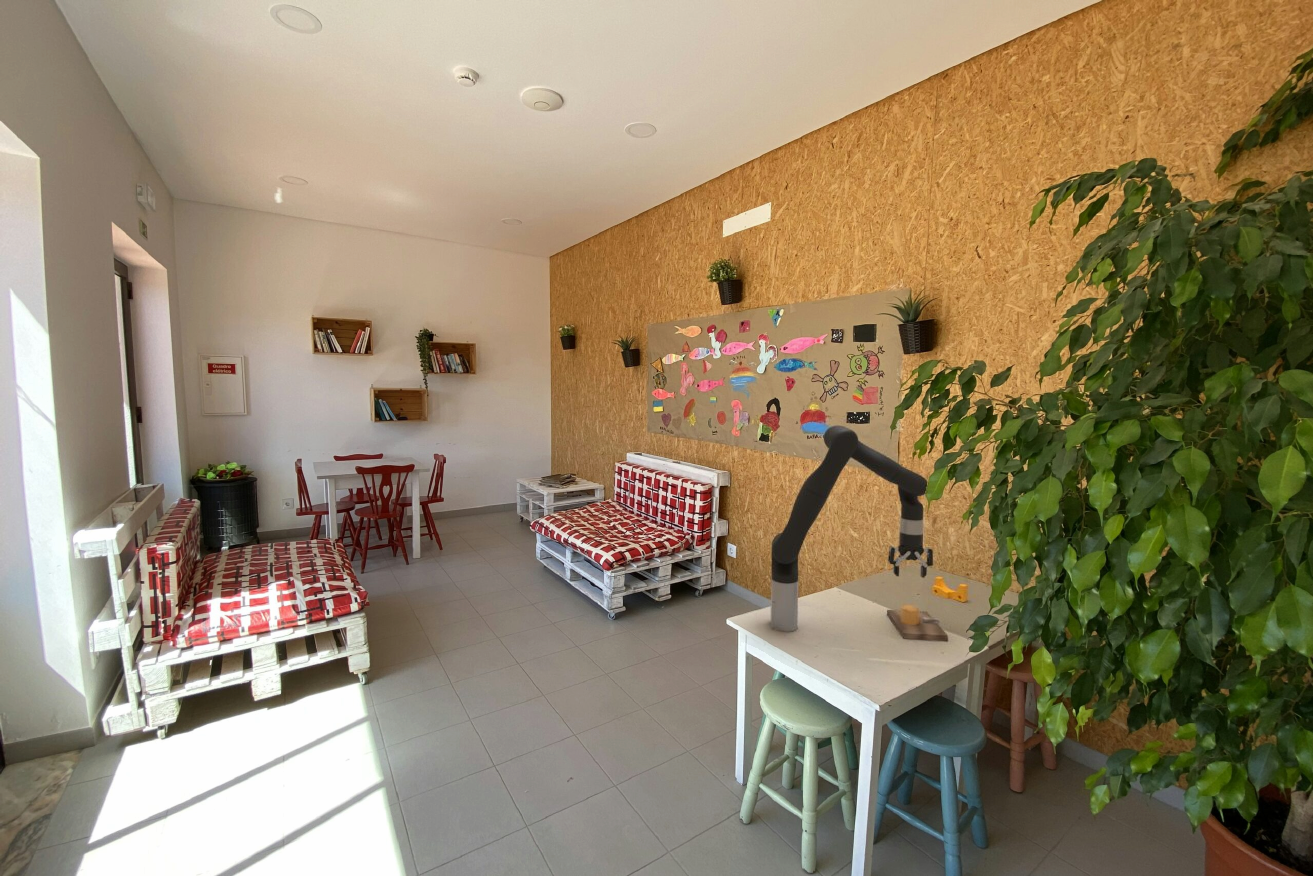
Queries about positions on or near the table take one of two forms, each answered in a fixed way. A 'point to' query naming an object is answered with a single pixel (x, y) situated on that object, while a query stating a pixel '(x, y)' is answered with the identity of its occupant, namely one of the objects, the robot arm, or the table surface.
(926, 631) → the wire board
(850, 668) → the table surface
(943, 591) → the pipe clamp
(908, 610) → the orange rounded block
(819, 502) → the robot arm
